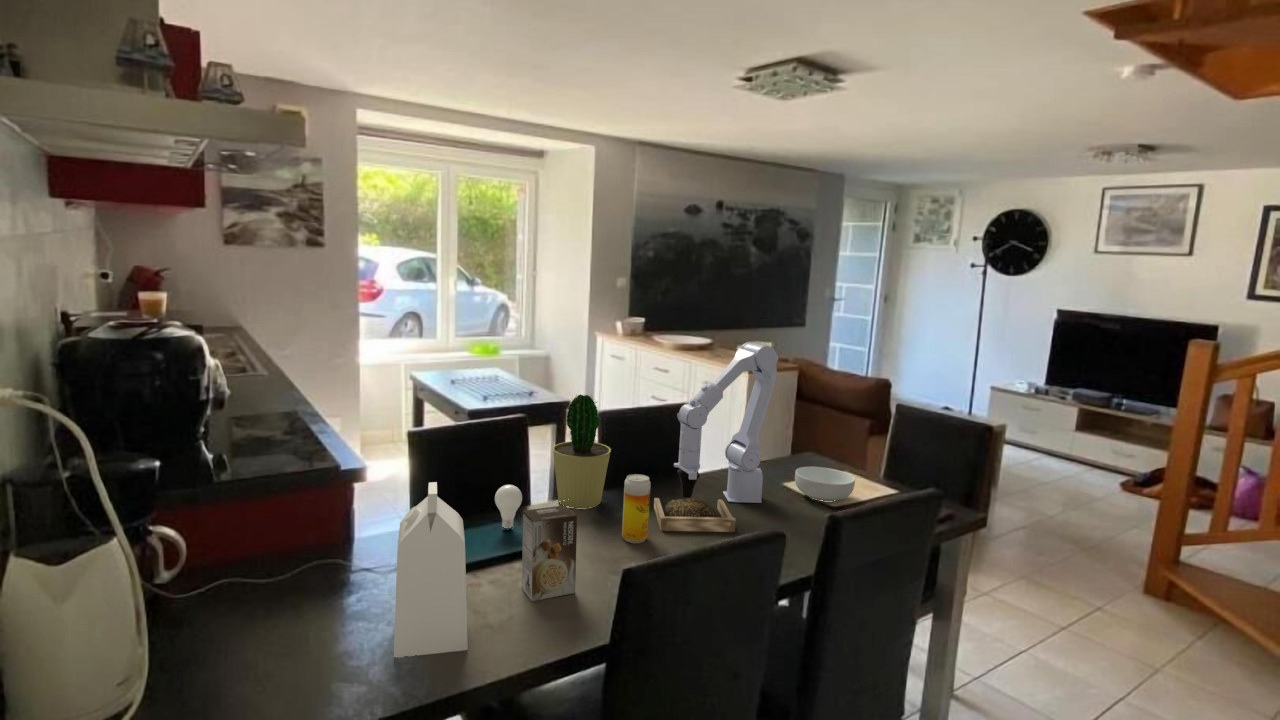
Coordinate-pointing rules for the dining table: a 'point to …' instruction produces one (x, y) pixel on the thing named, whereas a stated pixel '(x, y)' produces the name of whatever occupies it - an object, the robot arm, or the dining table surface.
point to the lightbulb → (508, 503)
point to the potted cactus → (581, 457)
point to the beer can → (636, 508)
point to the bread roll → (688, 508)
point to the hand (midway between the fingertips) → (686, 496)
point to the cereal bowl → (824, 483)
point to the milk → (430, 580)
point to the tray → (696, 520)
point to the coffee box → (549, 552)
